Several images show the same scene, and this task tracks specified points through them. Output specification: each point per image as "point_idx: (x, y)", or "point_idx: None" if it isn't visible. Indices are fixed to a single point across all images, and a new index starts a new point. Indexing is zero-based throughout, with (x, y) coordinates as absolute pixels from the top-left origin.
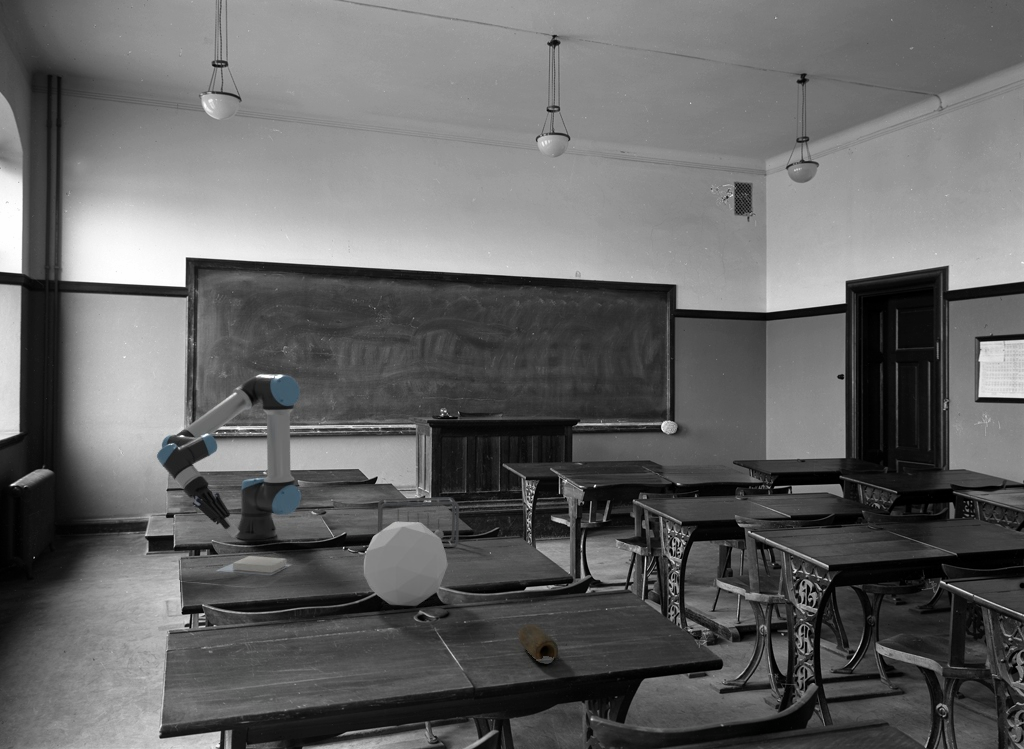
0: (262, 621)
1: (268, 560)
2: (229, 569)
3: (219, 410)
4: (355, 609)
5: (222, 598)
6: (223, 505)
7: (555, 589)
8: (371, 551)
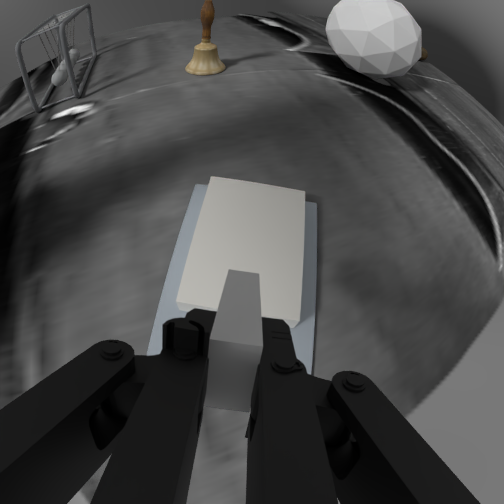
0: (487, 175)
1: (239, 215)
2: None
3: None
4: (406, 101)
5: (473, 250)
6: (20, 432)
7: (273, 20)
8: (418, 38)
